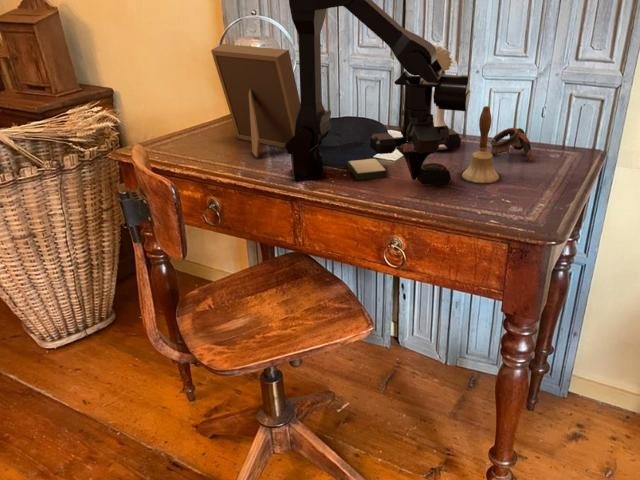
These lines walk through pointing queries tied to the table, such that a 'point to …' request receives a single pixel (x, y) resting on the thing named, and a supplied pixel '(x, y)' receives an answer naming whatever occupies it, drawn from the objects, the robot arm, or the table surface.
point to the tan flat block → (366, 169)
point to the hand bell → (482, 155)
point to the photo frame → (259, 92)
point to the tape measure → (433, 174)
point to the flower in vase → (439, 113)
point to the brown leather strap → (512, 142)
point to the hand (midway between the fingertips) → (413, 179)
